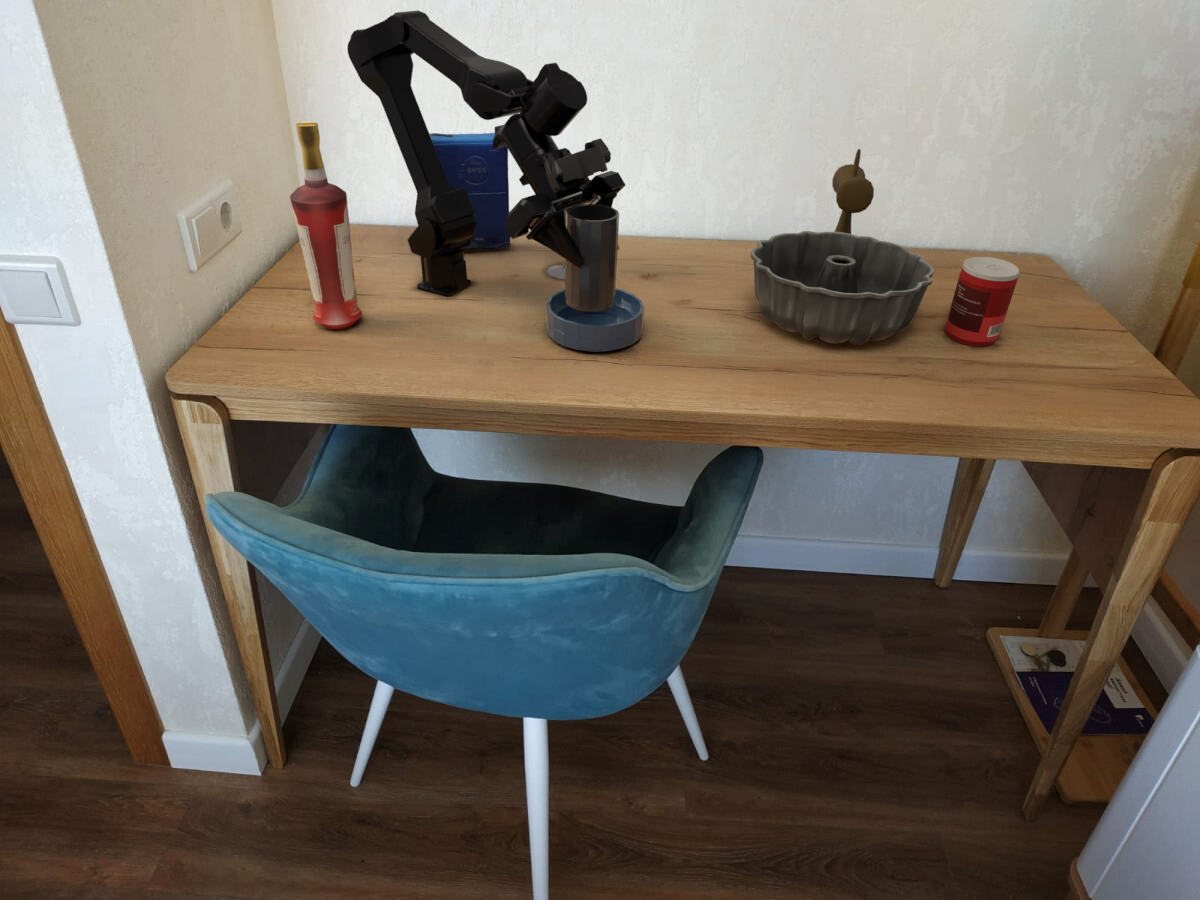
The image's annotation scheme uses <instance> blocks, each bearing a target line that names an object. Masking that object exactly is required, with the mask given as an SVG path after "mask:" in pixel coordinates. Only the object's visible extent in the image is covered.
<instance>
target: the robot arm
mask: <svg viewBox="0 0 1200 900" xmlns="http://www.w3.org/2000/svg"><path fill="white" fill-rule="evenodd" d="M346 49H347V56H348V58H349V60H350V62H351V64H352V66H353V68H354V69H355V72H356V73H357V75H358V78H359V79H360V81H361V83H362V84H364V85H365V86H366V87H367V88H368V89H369V90H370V91H371V92H372V93H374V94H375V95H376V96H377V97H378V99H379V101H380V103H381V105H382V108H383V110H384V113H385V116H386V118H387V121H388V123H389V126H390V128H391V130H392V134H393V135H394V138H395V140H396V143H397V146H398V148H399V151H400V153H401V156H402V158H403V160H404V163H405V166H406V168H407V171H408V173H409V175H410V178H411V180H412V181H411V182H412V183H413V185H414V188H415V190H416V200H415V207H414V216H415V219H416V223H417V227H416V228H415V229H414V230H413V232H412V233H411V234H410V236H409V237H408V238H407V243H408V246H409V248H410V252H411V254H414V255H417V256H418V257H420V266H421V276H422V277H421V279H422V281H421V282H419V283H418V284H416V288H417V289H419V290H422V291H427V292H430V293H434V294H438V295H442V296H446V297H450V296H452V295H454V294H455V293H457V292H460V290H462V289H464V288H465V287H468V286H469V285H471V284H472V279H469V278H468V273H467V261H466V260H465V256H464V255H465V254H464V252H463V250H462V249H461V248H464V247H469V246H471V242H472V238H473V234H474V229H475V227H476V220H475V217H474V214H475V213H476V212H475V211H474V209H473V208H472V206H471V204H470V201H469V197H468V193H467V192H466V190H465V189H464V188H461V189H456V188H455V187H454V186H453V185H451V184H450V183H449V182H448V180H447V178H446V175H445V173H444V170H443V167H442V165H441V162H440V160H439V157H438V155H437V152H436V149H435V147H434V144H433V142H432V139H431V137H430V134H429V133H430V132H429V129H428V127H427V124H426V121H425V119H424V116H423V113H422V111H421V108H420V106H419V103H418V101H417V97H416V95H415V93H414V91H413V88H412V79H413V71H414V62H413V57H412V55H414V54H415V55H416V56H417V57H418V58H420V59H421V60H423V61H424V62H426V63H427V64H428V65H430V66H431V67H432V68H433V69H435V70H436V71H438V72H439V73H440V74H442V76H444V77H445V78H447V79H449V80H450V81H451V82H452V83H454V84H455V85H456V86H457V87H458V88H459V89H460V92H461V96H462V99H463V101H464V102H465V104H467V106H468V107H469V108H470V109H471V110H472V111H473V112H474V113H475V114H476V115H477V116H478V117H479V118H481V119H483V120H484V121H490V120H491V121H492V120H496V119H500V118H505V117H508V116H509V118H508V119H507V121H505V123H504V124H501V125H497V126H496V125H495V126H494V133H495V135H494V138H493V148H495V149H496V148H500V147H504V146H507V148H508V152H509V153H510V155H511V156H512V158H513V160H514V161H515V163H516V165H517V166H518V168H519V169H520V171H521V173H522V175H521V176H520V178H519V179H518V180H519V182H520V184H521V186H522V187H523V186H527V185H529V186H530V188H531V189H532V191H533V193H534V194H532V195H529V196H525V197H524V198H520V200H519V201H518V202H517V203H516V204H515V205H514V206H513V208H512V209H511V210H509V213H508V214H507V215H506V216H505V228H506V230H507V231H508V233H509V235H510V239H511V240H514V239H517V238H520V237H522V236H525V238H526V239H527V241H530V240H533V241H535V242H536V243H538V244H540V245H542V246H544V247H546V248H547V249H549V250H551V251H552V252H554V253H556V254H557V255H559V256H560V257H562V258H563V259H564V260H565V261H566V260H568V261H569V262H571V263H572V264H574V265H575V266H577V267H578V268H580V267H581V266H583V265H584V260H583V258H582V256H581V254H580V252H579V250H578V248H577V246H576V244H575V243H574V241H573V239H572V237H571V235H570V234H569V232H568V230H567V228H566V226H565V218H564V211H565V210H568V209H569V208H571V207H573V206H577V205H583V204H596V205H604V206H608V207H612V208H613V204H614V200H615V198H617V196H618V193H620V191H622V190H623V189H624V188H625V187H626V183H625V181H624V180H623V178H622V177H621V175H620V172H617V171H613V170H609V169H608V166H607V164H609V163H610V162H611V159H612V157H611V156H612V154H611V153H612V152H611V151H610V149H609V147H608V146H607V144H606V143H605V142H604V140H603V139H602V138H600V137H599V138H597V139H594V140H592V141H588V142H585V143H584V149H583V150H580V151H576V152H574V153H571V151H570V149H568V148H566V147H564V148H559V147H558V145H557V143H556V142H555V141H554V139H553V137H558V136H559V135H561V134H562V133H563V131H565V130H566V128H567V127H568V126H569V125H570V124H571V122H573V120H574V119H575V118H576V117H577V116H578V115H579V114H580V112H581V111H582V110H583V109H584V108H585V106H586V105H587V103H588V94H587V91H586V88H585V86H584V85H583V83H582V82H581V81H579V80H578V79H577V78H576V77H575V76H574V75H572V74H571V73H569V72H568V71H565V70H563V69H561V68H560V67H559V65H558V63H557V62H551V63H545V64H544V65H543V66H542V67H541V69H540V70H539V72H538V74H537V76H536V78H535V79H534V80H531V79H530V78H528V77H527V76H526V74H525V73H524V72H523V71H522V70H521V69H519V68H517V67H515V66H513V65H510V64H508V63H506V62H503V61H501V60H495V59H491V58H486V57H484V56H482V55H480V54H478V53H477V52H475V51H474V50H472V49H471V48H469V46H467V45H466V44H464V43H463V42H462V41H460V40H458V39H457V38H456V37H455V36H453V35H452V34H450V33H449V32H448V31H446V30H444V29H443V28H442V27H441V26H439V25H438V24H436V23H435V22H434V21H432V20H431V19H430V17H429V16H428V15H427V14H426V13H425V12H423V11H420V10H419V9H418V10H409V11H397V12H394V13H393V14H391V15H390V16H388V17H387V18H386V19H384V20H382V21H380V22H378V23H375V24H373V25H371V26H369V27H367V28H361V29H356V30H353V31H352V33H351V35H350V38H349V41H348V43H347V48H346ZM599 172H601V173H600V174H596V173H599ZM595 174H596V175H595ZM591 176H593V177H592V178H591V179H590V177H591ZM588 180H591V181H590V182H589V183H588V184H587V185H586V186H585V187H584V188H583V189H581V186H582V185H583V184H585V183H586V182H587V181H588ZM571 199H573V200H572V201H570V200H571ZM619 247H620V246H619V245H618V251H619V249H620V248H619Z"/></svg>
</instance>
